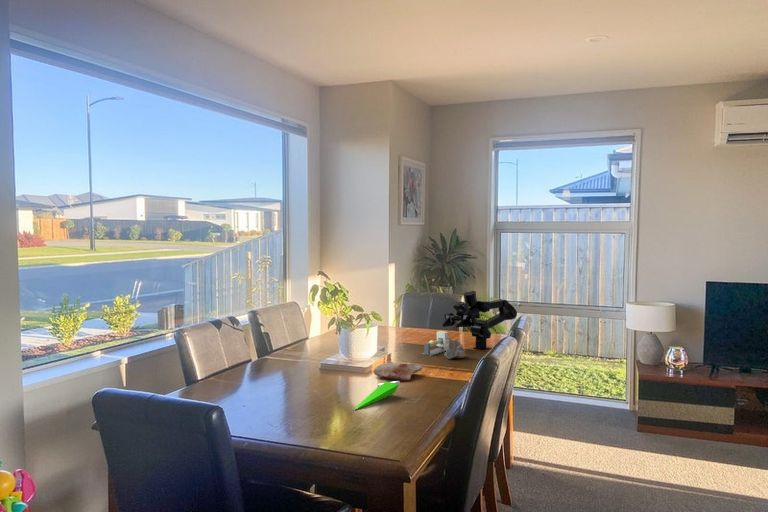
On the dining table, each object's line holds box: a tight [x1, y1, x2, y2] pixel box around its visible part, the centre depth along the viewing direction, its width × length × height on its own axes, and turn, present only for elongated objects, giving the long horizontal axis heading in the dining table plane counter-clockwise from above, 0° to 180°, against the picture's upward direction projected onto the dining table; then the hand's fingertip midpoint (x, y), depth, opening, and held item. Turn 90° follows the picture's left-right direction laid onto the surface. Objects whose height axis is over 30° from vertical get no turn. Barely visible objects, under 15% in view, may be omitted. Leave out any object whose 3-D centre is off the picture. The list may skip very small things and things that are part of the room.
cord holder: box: [421, 337, 452, 357], centre depth 288 cm, size 19×6×7 cm, turn 142°
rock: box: [443, 338, 465, 360], centre depth 274 cm, size 9×12×10 cm
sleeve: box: [436, 330, 449, 347], centre depth 292 cm, size 3×5×7 cm, turn 52°
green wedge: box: [354, 380, 401, 410], centre depth 207 cm, size 11×5×25 cm
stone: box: [373, 361, 423, 382], centre depth 241 cm, size 20×6×15 cm
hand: (449, 326), depth 279 cm, fingers open, 9 cm apart
